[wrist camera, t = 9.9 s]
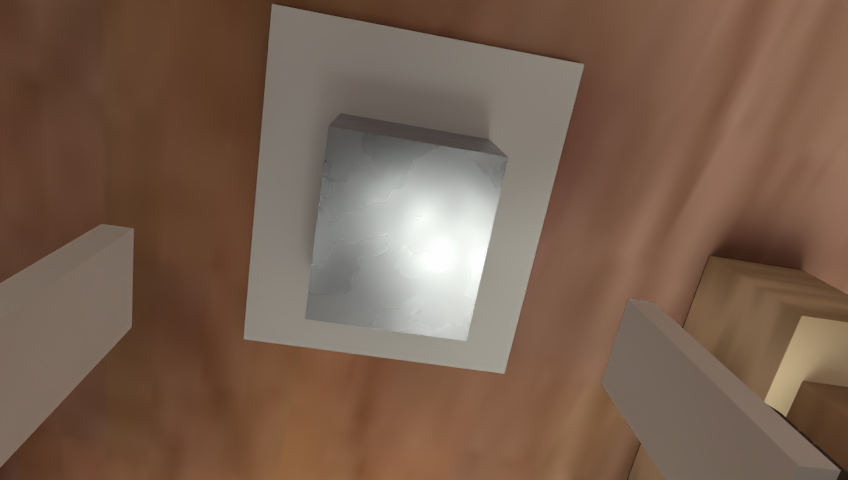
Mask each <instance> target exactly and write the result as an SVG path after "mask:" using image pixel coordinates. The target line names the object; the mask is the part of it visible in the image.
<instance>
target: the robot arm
mask: <svg viewBox="0 0 848 480" xmlns="http://www.w3.org/2000/svg"><path fill="white" fill-rule="evenodd" d="M133 243H134V228H128V227H120V226H113V225H106V224H100V225H99V226H97V227H95V228H93V229H92V230H90V231H88V232H87V233H85V234H83V235H81V236H80V237H78V238H76V239H75V240H73V241H71V242H69V243H68V244H66V245H64V246H63V247H61V248H59V249H58V250H56V251H54V252H52V253H51V254H49V255H47V256H46V257H44V258H42V259H40V260H39V261H37V262H35V263H34V264H32V265H30V266H29V267H27V268H25V269H23V270H22V271H20V272H18V273H17V274H15V275H13V276H11V277H10V278H8V279H6V280H5V281H3V282H1V283H0V467H1V466H2V465H3V464H4V463H5V462H6V461H7V460H8V459H9V458H10V457H11V456H12V455H13V453H14V452H15V451H16V450H17V449H18V448H19V447H20V446H21V445H22V444H23V443H24V442H25V441H26V440H27V439H28V437H29V436H30V435H31V434H32V433H33V432H34V431H35V430H36V429H37V428H38V427H39V426H40V425H41V424H42V423H43V421H44V420H45V419H46V418H47V417H48V416H49V415H50V414H51V413H52V412H53V411H54V410H55V409H56V408H57V406H58V405H59V404H60V403H61V402H62V401H63V400H64V399H65V398H66V397H67V396H68V395H69V394H70V393H71V392H72V390H73V389H74V388H75V387H76V386H77V385H78V384H79V383H80V382H81V381H82V380H83V379H84V378H85V377H86V376H87V374H88V373H89V372H90V371H91V370H92V369H93V368H94V367H95V366H96V365H97V364H98V363H99V362H100V361H101V360H102V358H103V357H104V356H105V355H106V354H107V353H108V352H109V351H110V350H111V349H112V348H113V347H114V346H115V345H116V343H117V342H118V341H119V340H120V339H121V338H122V337H123V336H124V335H125V334H126V333H127V332H128V331H129V330H130V329H131V327H132V292H133ZM601 385H602V386H603V388H604V389H605V391H606V392H607V394H608V395H609V397H610V398H611V400H612V401H613V403H614V404H615V406H616V407H617V408H618V410H619V411H620V413H621V414H622V416H623V417H624V419H625V420H626V422H627V423H628V425H629V426H630V428H631V429H632V431H633V432H634V434H635V435H636V437H637V438H638V440H639V441H640V443H641V444H642V446H643V447H644V449H645V450H646V452H647V453H648V455H649V456H650V458H651V459H652V461H653V462H654V464H655V465H656V467H657V468H658V470H659V471H660V473H661V474H662V476H663V477H664V479H665V480H848V472H847V471H846V470H844V469H843V468H842V467H841V466H840V465H839V464H838V463H837V462H835V461H834V460H833V459H832V458H831V457H830V456H829V455H828V454H826V453H825V452H824V451H823V450H822V449H821V448H820V447H819V446H817V445H815V444H813V441H812V440H811V439H810V438H808V437H807V436H806V435H805V434H804V433H803V432H802V431H798V428H797V427H796V426H795V425H794V424H793V423H792V422H791V421H789V420H788V419H787V418H786V417H785V416H784V415H783V414H782V413H780V412H779V411H777V410H776V409H774V408H772V407H771V406H769V405H768V404H766V403H765V402H764V401H763V400H762V399H761V398H760V397H759V396H757V395H756V394H755V393H754V392H753V391H752V390H751V389H750V388H749V387H747V386H746V385H745V384H744V383H743V382H742V381H741V380H740V379H739V378H737V377H736V376H735V375H734V374H733V373H732V372H731V371H730V370H729V369H727V368H726V367H725V366H724V365H723V364H722V363H721V362H720V361H719V360H717V359H716V358H715V357H714V356H713V355H712V354H711V353H710V352H709V351H707V350H706V349H705V348H704V347H703V346H702V345H701V344H700V343H699V342H697V341H696V340H695V339H694V338H693V337H692V336H691V335H690V334H689V333H687V332H686V331H685V330H684V329H683V328H682V327H681V326H680V325H679V324H677V323H676V322H675V321H674V320H673V319H672V318H671V317H670V316H669V315H667V314H666V313H665V312H664V311H663V310H662V309H661V308H660V307H659V306H657V305H656V304H655V303H654V302H650V301H643V300H636V299H629V298H628V300H627V303H626V306H625V309H624V312H623V316H622V319H621V322H620V325H619V328H618V331H617V335H616V338H615V341H614V344H613V347H612V351H611V354H610V357H609V360H608V363H607V366H606V370H605V373H604V376H603V379H602V382H601Z"/></svg>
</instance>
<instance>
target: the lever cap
mask: <svg viewBox="0 0 848 480" xmlns="http://www.w3.org/2000/svg"><path fill="white" fill-rule="evenodd" d="M507 162H508V156H507V155H506V154H504V153H503V152H502V151H501V150H500V149H499V148H498V147H497V146H496V145H495V144H494V143H493V142H492V141H491V140H490V139H485V138H480V137H474V136H468V135H463V134H457V133H451V132H446V131H440V130H434V129H429V128H423V127H417V126H411V125H406V124H400V123H394V122H389V121H383V120H377V119H372V118H366V117H360V116H355V115H349V114H343V113H340V114H339V115H338V116H337V117H336V119H335V120H334V121H333V122H332V123H331V124H330V125H329V126H328V134H327V142H326V150H325V159H324V167H323V175H322V183H321V191H320V199H319V207H318V216H317V224H316V232H315V240H314V248H313V256H312V264H311V273H310V281H309V289H308V297H307V305H306V313H305V319H308V320H315V321H323V322H330V323H337V324H344V325H352V326H359V327H366V328H374V329H381V330H388V331H395V332H403V333H410V334H417V335H424V336H432V337H439V338H446V339H454V340H461V341H467V336H468V332H469V328H470V323H471V319H472V315H473V310H474V306H475V301H476V297H477V293H478V288H479V284H480V280H481V275H482V271H483V267H484V262H485V258H486V253H487V249H488V245H489V240H490V236H491V232H492V227H493V223H494V218H495V214H496V210H497V205H498V201H499V197H500V192H501V188H502V184H503V179H504V175H505V170H506V166H507Z"/></svg>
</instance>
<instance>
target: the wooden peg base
mask: <svg viewBox="0 0 848 480" xmlns="http://www.w3.org/2000/svg"><path fill="white" fill-rule="evenodd" d="M683 329H684V330H685V331H686V332H687V333H689V334H690V335H691V336H692V337H693V338H694V339H695V340H696V341H697V342H699V343H700V344H701V345H702V346H703V347H704V348H705V349H706V350H707V351H709V352H710V353H711V354H712V355H713V356H714V357H715V358H716V359H717V360H719V361H720V362H721V363H722V364H723V365H724V366H725V367H726V368H727V369H729V370H730V371H731V372H732V373H733V374H734V375H735V376H736V377H737V378H739V379H740V380H741V381H742V382H743V383H744V384H745V385H746V386H747V387H749V388H750V389H751V390H752V391H753V392H754V393H755V394H756V395H757V396H759V397H760V398H761V399H762V400H763V401H764V402H765V403H766V404H768V405H769V406H771V407H772V408H774V409H776V410H777V411H779V412H780V413H782V414H783V415H784V416H785V417H786V418H787V419H788V420H789V421H791V422H792V423H793V424H794V425H795V426H796V427H797V428H798V431H802V432H803V433H804V434H805V435H806V436H807V437H808V438H810V439H811V440H812V441H813V444H815V445H817V446H819V447H820V448H821V449H822V450H823V451H824V452H825V453H826V454H828V455H829V456H830V457H831V458H832V459H833V460H834V461H835V462H837V463H838V464H839V465H840V466H841V467H842V468H843V469H844V470H846V471H847V472H848V295H847V294H845V293H843V292H842V291H840V290H838V289H836V288H834V287H832V286H831V285H829V284H827V283H825V282H823V281H821V280H819V279H818V278H816V277H814V276H812V275H810V274H808V273H806V272H805V271H803V270H797V269H791V268H785V267H778V266H772V265H766V264H760V263H753V262H747V261H741V260H735V259H729V258H722V257H716V256H709V258H708V261H707V264H706V267H705V269H704V272H703V275H702V278H701V280H700V283H699V286H698V289H697V291H696V294H695V297H694V300H693V302H692V305H691V308H690V310H689V313H688V316H687V319H686V321H685V324H684V327H683ZM628 480H665V479H664V477H663V476H662V474H661V473H660V471H659V470H658V468H657V467H656V465H655V464H654V462H653V461H652V459H651V458H650V456H649V455H648V453H647V452H646V450H645V449H644V447H643V446H642V444H640V447H639V450H638V453H637V455H636V458H635V461H634V464H633V466H632V469H631V472H630V474H629V477H628Z"/></svg>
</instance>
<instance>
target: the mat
mask: <svg viewBox="0 0 848 480" xmlns="http://www.w3.org/2000/svg"><path fill="white" fill-rule="evenodd" d="M583 68H584V64H580V63H575V62H570V61H565V60H560V59H555V58H549V57H544V56H539V55H534V54H529V53H524V52H518V51H513V50H508V49H503V48H498V47H493V46H487V45H482V44H477V43H472V42H467V41H462V40H456V39H451V38H446V37H441V36H436V35H431V34H425V33H420V32H415V31H410V30H405V29H400V28H394V27H389V26H384V25H379V24H374V23H369V22H363V21H358V20H353V19H348V18H343V17H337V16H332V15H327V14H322V13H317V12H312V11H306V10H301V9H296V8H291V7H286V6H281V5H275V4H272V9H271V20H270V32H269V44H268V56H267V68H266V79H265V91H264V103H263V115H262V127H261V138H260V150H259V162H258V174H257V186H256V197H255V209H254V221H253V233H252V245H251V256H250V268H249V280H248V292H247V304H246V315H245V327H244V339H246V340H253V341H261V342H268V343H276V344H283V345H291V346H299V347H306V348H314V349H321V350H329V351H336V352H344V353H351V354H359V355H367V356H374V357H382V358H389V359H397V360H404V361H412V362H419V363H427V364H435V365H442V366H450V367H457V368H465V369H472V370H480V371H487V372H495V373H503V374H504V373H505V369H506V365H507V361H508V358H509V354H510V350H511V346H512V342H513V338H514V334H515V331H516V327H517V323H518V319H519V315H520V311H521V307H522V304H523V300H524V296H525V292H526V288H527V284H528V280H529V276H530V273H531V269H532V265H533V261H534V257H535V253H536V249H537V246H538V242H539V238H540V234H541V230H542V226H543V222H544V219H545V215H546V211H547V207H548V203H549V199H550V195H551V192H552V188H553V184H554V180H555V176H556V172H557V168H558V164H559V161H560V157H561V153H562V149H563V145H564V141H565V137H566V134H567V130H568V126H569V122H570V118H571V114H572V110H573V107H574V103H575V99H576V95H577V91H578V87H579V83H580V79H581V76H582V72H583ZM340 113H343V114H349V115H355V116H360V117H366V118H372V119H377V120H383V121H389V122H394V123H400V124H406V125H411V126H417V127H423V128H429V129H434V130H440V131H446V132H451V133H457V134H463V135H468V136H474V137H480V138H485V139H490V140H491V141H492V142H493V143H494V144H495V145H496V146H497V147H498V148H499V149H500V150H501V151H502V152H503V153H504V154H506V155H507V156H508V162H507V166H506V170H505V175H504V179H503V184H502V188H501V192H500V197H499V201H498V205H497V210H496V214H495V218H494V223H493V227H492V232H491V236H490V240H489V245H488V249H487V253H486V258H485V262H484V267H483V271H482V275H481V280H480V284H479V288H478V293H477V297H476V301H475V306H474V310H473V315H472V319H471V323H470V328H469V332H468V336H467V341H461V340H454V339H446V338H439V337H432V336H424V335H417V334H410V333H403V332H395V331H388V330H381V329H374V328H366V327H359V326H352V325H344V324H337V323H330V322H323V321H315V320H308V319H305V313H306V305H307V297H308V289H309V281H310V273H311V264H312V256H313V248H314V240H315V232H316V224H317V216H318V207H319V199H320V191H321V183H322V175H323V167H324V159H325V150H326V142H327V134H328V126H329V125H330V124H331V123H332V122H333V121H334V120H335V119H336V117H337V116H338V115H339V114H340Z"/></svg>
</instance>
